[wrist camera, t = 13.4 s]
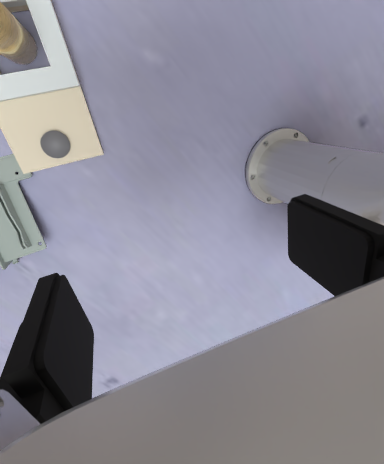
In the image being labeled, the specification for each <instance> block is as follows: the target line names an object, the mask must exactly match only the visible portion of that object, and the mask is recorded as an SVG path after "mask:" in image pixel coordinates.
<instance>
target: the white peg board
mask: <svg viewBox="0 0 384 464" xmlns="http://www.w3.org/2000/svg"><path fill="white" fill-rule="evenodd" d="M0 2H1V3H2V4H3V5H4V6H5V7H6V8H7V9H8V10H9V12H10V13H11V12H19V11H26V10H30V13H31V15H32V18H33V21H34V23H35V26H36V29H37V31H38V34H39V37H40V39H41V42H42V45H43V47H44V50H45V53H46V55H47V58H48V61H49V63H50V66H49V67H43V68H37V69H31V70H26V71H20V72H14V73H9V74H3V75H2V74H1V72H0V128H1V130H2V132H3V134H4V136H5V138H6V140H7V142H8V144H9V146H10V148H11V150H12V152H13V154H14V156H15V158H16V160H17V162H18V164H19V166H20V168H21V170H22V172H23V174H26V173H30V172H34V171H38V170H42V169H46V168H50V167H55V166H59V165H63V164H67V163H71V162H75V161H79V160H83V159H87V158H91V157H95V156H99V155H104V154H103V150H102V147H101V144H100V141H99V138H98V135H97V133H96V130H95V127H94V124H93V121H92V118H91V115H90V112H89V109H88V106H87V103H86V100H85V97H84V94H83V91H82V89H81V86H80V83H79V80H78V77H77V74H76V71H75V68H74V65H73V62H72V59H71V56H70V53H69V50H68V47H67V45H66V42H65V39H64V36H63V33H62V30H61V27H60V24H59V21H58V18H57V15H56V12H55V9H54V6H53V3H52V1H51V0H0Z"/></svg>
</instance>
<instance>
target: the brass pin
mask: <svg viewBox="0 0 384 464" xmlns="http://www.w3.org/2000/svg"><path fill="white" fill-rule="evenodd" d="M0 55H2V56H4V57H6V58H8V59H9V60H11V61H13V62H15V63H17V64H22V65H25V64H29V63H31V62H33V61H34V59H35V58H36V55H37V46H36V43H35V40H34V39H33V37H32V36H31V34H30V33H29V32H28V31H27V30H26V29H25V28H24V27H23V26H22V25H21V23H20V22H19V21H18V20H17V19H16V18H15V17H14V16H13V15H12V14H11V13H10V12H9V10H8V9H7V8H6V7H5V6H4V5H3V4H2V3H1V2H0Z"/></svg>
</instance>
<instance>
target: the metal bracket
mask: <svg viewBox="0 0 384 464" xmlns="http://www.w3.org/2000/svg"><path fill="white" fill-rule="evenodd" d="M16 172H18V175H17V174H16ZM30 177H32V173H31V172H30V173H26V174H23V172H22V170H21V168H20V166H19V164H18V162H17V160H16V158H15V156H14V154H11V155H7V156H3V157H0V266H1V268H2V269H3V270H4V269H6V268H7V267H8V265H9V264H10V263H11V262H13V264H15V263H18V262H19V261H18V258H20V257H23V256H26V255H29V254H31V253H34V252H37V251H40V250H43V249H45V248H46V244H45V242H44V239H43V237H42V235H41V233H40V231H39V228H38V226H37V224H36V222H35V220H34V217H33V215H32V213H31V211H30V209H29V206H28V204H27V202H26V200H25V198H24V195H23V193H22V191H21V189H20V187H19V184H18V182H19V181H20V180H23V179H27V178H30ZM38 242H42V245H39V244H38Z"/></svg>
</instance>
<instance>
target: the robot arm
mask: <svg viewBox="0 0 384 464" xmlns="http://www.w3.org/2000/svg"><path fill="white" fill-rule="evenodd" d="M246 181H247V185H248V188H249V190H250V191H251V193H252V194H253V195H254V196H255V197H256V198H257V199H259V200H260V201H262V202H264V203H267V204H280V203H283V202H285V203H287V204H288V255H289V258H290V260H291V261H292V262H293V263H294V264H295V265H296V266H298V267H299V268H300V269H301V270H303V271H304V272H305V273H306V274H308V275H309V276H310V277H312V278H313V279H314V280H315V281H317V282H318V283H319V284H320V285H322V286H323V287H324V288H325V289H327V290H328V291H329V292H330V293H332V294H333V295H334V296H335V297H332V298H330V299H327V300H325V301H322V302H320V303H318V304H315V305H313V306H310V307H308V308H305V309H303V310H300V311H298V312H296V313H293V314H291V315H288V316H286V317H284V318H281V319H279V320H276V321H274V322H271V323H269V324H267V325H264V326H262V327H259V328H257V329H255V330H252V331H250V332H247V333H245V334H242V335H240V336H238V337H235V338H233V339H230V340H228V341H226V342H223V343H221V344H218V345H216V346H214V347H211V348H209V349H207V350H204V351H202V352H199V353H197V354H195V355H192V356H190V357H188V358H185V359H183V360H180V361H178V362H176V363H173V364H171V365H168V366H166V367H164V368H161V369H159V370H157V371H154V372H152V373H149V374H147V375H145V376H142V377H140V378H138V379H135V380H133V381H131V382H128V383H126V384H124V385H121V386H119V387H117V388H114V389H112V390H110V391H108V392H105V393H103V394H101V395H99V396H97V397H95V398H92V373H93V344H94V333H93V329H92V326H91V324H90V322H89V320H88V318H87V316H86V314H85V312H84V311H83V309H82V307H81V305H80V303H79V301H78V299H77V297H76V295H75V293H74V291H73V289H72V288H71V286H70V284H69V282H68V280H67V278H66V276H65V275H61V276H60V275H59V274H58V273H54V274H51V275H48V276H45V277H42V278H39V280H38V283H37V285H36V288H35V291H34V293H33V296H32V299H31V301H30V304H29V307H28V309H27V312H26V315H25V318H24V320H23V322H22V323H21V325H20V327H19V330H18V332H17V335H16V337H15V340H14V343H13V345H12V348H11V351H10V353H9V356H8V359H7V361H6V364H5V366H4V369H3V372H2V374H1V377H0V464H384V153H381V152H374V151H365V150H359V149H352V148H345V147H339V146H332V145H325V144H319V143H312V142H309V140H308V139H307V137H306V136H305V135H304V134H303V133H301V132H300V131H298V130H295V129H289V128H280V129H277V130H273V131H271V132H269V133H268V134H266V135H265V136H264V137H262V138H261V139H260V140H259V141H258V142H257V143H256V145H255V146H254V148H253V149H252V151H251V153H250V155H249V158H248V161H247V165H246Z"/></svg>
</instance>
